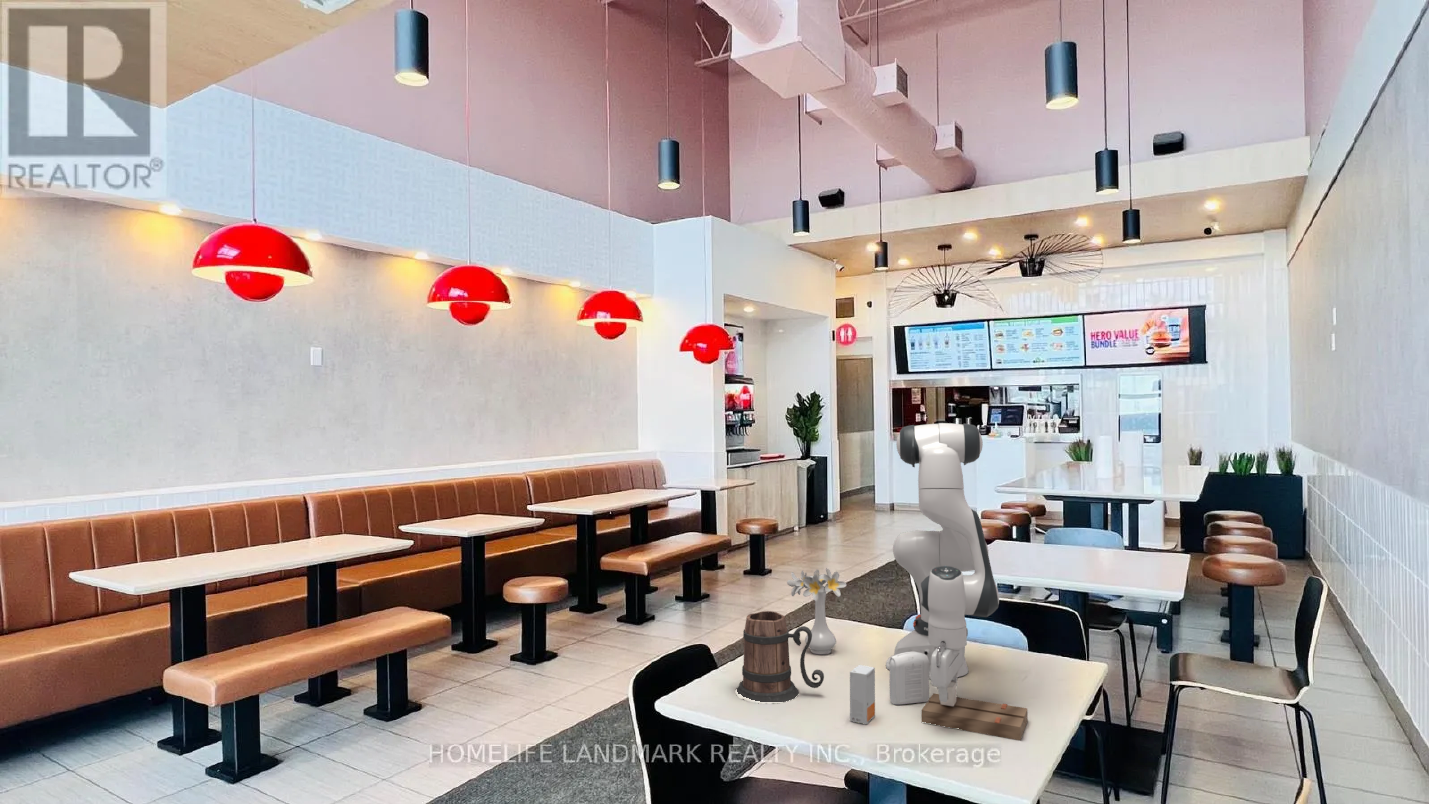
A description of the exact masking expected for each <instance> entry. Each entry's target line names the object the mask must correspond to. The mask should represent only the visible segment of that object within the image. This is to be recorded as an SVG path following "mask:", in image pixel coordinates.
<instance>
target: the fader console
mask: <svg viewBox="0 0 1429 804" xmlns="http://www.w3.org/2000/svg"><path fill="white" fill-rule="evenodd" d="M920 712H921V713H920V714H921V717H920V718H921V723H922V722H926V723H931V724H936V725H935V726H937V725H940V726H939V727H942V726H945V727H944V728H948V727H950V728H949V729H953V728H959V729H962V730H961V731H964V730H966V731H965V732H970V733H971V732H972V733H976V734H982V735H986V736H987V735H988V736H992V737H993V736H994V737H1000V738H1005V739H1010V740H1015V741H1022V738H1023V735H1024V733H1025V730H1026V726H1027V724H1028V719H1029V717H1028V716H1029V715H1028V713H1029V712H1028V708H1026V707H1022V706H1015V705H1010V704H1006V703H997V702H992V701H991V702H990V701H985V700H978V699H971V698H966V697H961V696H959V697H958V696H956V703H955V705H954V706H953V707H952V706H946V705H942V704H940V700H939V693H932V695H931V696H929V700H928V701H927V702H926V703H925V705H924V706H923V707H922V709H921V711H920ZM931 724H930V725H931ZM959 729H958V730H959Z"/></svg>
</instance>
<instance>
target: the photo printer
mask: <svg viewBox="0 0 1429 804" xmlns="http://www.w3.org/2000/svg"><path fill="white" fill-rule="evenodd" d="M890 657H891V656H890ZM929 699H930V679H929V660H928V657H927V655H925V654H922V653H918V652H905V653H900V654H897V655H895V656H893V657H891V658H890V670H889V701H890V703H891V704H893V705H906V704H907V705H908V704H915V703H925V702H926V703H927V702H928V700H929Z"/></svg>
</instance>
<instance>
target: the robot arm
mask: <svg viewBox="0 0 1429 804" xmlns="http://www.w3.org/2000/svg"><path fill="white" fill-rule="evenodd" d="M983 446H984V445H983V437H982V435H981V433H980V430H979V428H978V427H977V426H976V425H974V424H970V423H963V424H959V423H951V422H949V423H948V422H938V423H930V424H929V423H927V424H920V425H915V424H912V425H906V426H903V427H902V428H901V429H900V430H899V434H898V435H897V438H896V449H897V450H896V451H897V453H898V456H899V457H900V458H899V459H901V460H902V462H904V463H905V464H908V465H911V466H912V468H914V469H915V467H916V464H919V465H918V478H917V481H918V483H917V485H918V488H917V489H918V508H919V511H920V512H921V513H922V515H923V516H925V517H926V518H928V519H929V520H930V521H932V522H933V523H935V524H937V525H940V526H941V528H942V530H940V531H939V530H918V529H917V530H910V531H905V532H900V533H899V534H898V535H897V536H896V537H895V540H894V542H893V544H892V545H893V546H892V553H893V557H894V559H895V560H896V562H897V564H898V565H899V566H901V567H902V568H903V569H904V570H906V571H907V572H908V574H909V575H910V576H911V577H912V579H913V581H914V582H915V584H916V587H917V589H918V594H919V603H920V614H917V616H916V617H915V619H914V620H913V622H912V627H913V629H914V630H912V631H911V632H909V633H908V634H906V635H904V636H903V637H902V638H901V639H900V640H898V642H897V643H896V645H895V647H894V652H893V654H892V655H891V656H890V657H888V658H887V660H886V661H885V668H886V669H887V670H889V671H890V658H891V657H893V656H895V655H897V654H900V653H905V652H918V653H922V654H925V655H927V657H928V660H929V680H930V683H931V686H932V687H936V688H937V691H938V694H939V700H940V701H942V702H947V700H948V692H947V687H948V685H949V683H950V682H955V683H956V687H958V684H957V683H958V682H957V681H958V678H959V677H963V676H966V675H967V674H968V673H969V668H968V664H967V661H966V657H965V652H966V646H967V643H968V640H967V638H968V635H969V632H968V631H969V629H968V627H967V621H966V619H965V618H966V617H965V616H967V615H968V616H973V617H980V618H988V617H989V616H991V615H993V614H994V613H995V612H996V611H997V610H998V608H999V604H1000V594H999V590H998V586H997V584H996V582H995V578H994V574H993V569H992V566H991V562H990V561H991V560H990V557H989V548H988V544H987V542H986V538H985V534H984V530H983V527H982V526H983V525H982V521H981V519H980V517H979V515H978V513H977V511H976V510H975V509H972V508H971V507H970V506H969V503H968V502H967V499H966V497H965V488H964V487H965V486H964V484H965V483H964V475H963V468H962V463H963V466H966V465H967V464H970V463H974V462H975V461H977V460H979V458H980V455H981V453H982V451H983ZM970 571H971V572H973V571H974V573H973V574H969V575H967V574H963V572H970Z"/></svg>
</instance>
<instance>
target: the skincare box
mask: <svg viewBox="0 0 1429 804" xmlns="http://www.w3.org/2000/svg"><path fill="white" fill-rule="evenodd" d="M875 673H876V668H875V667H873V666H868V665H864V664H863V665H862V664H858V665H857V666H856V667H854V668H853V669H852V670H850V671H849V719H850V720H849V722H851V721H853V722H852V723H855V722H859V723H858V724H860V723H864V724H863V725H865V724H866V725H868V723H870V721H872V720H873V719H874V718H875V717H876V677H875V676H876V675H875ZM871 719H872V720H871Z"/></svg>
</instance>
